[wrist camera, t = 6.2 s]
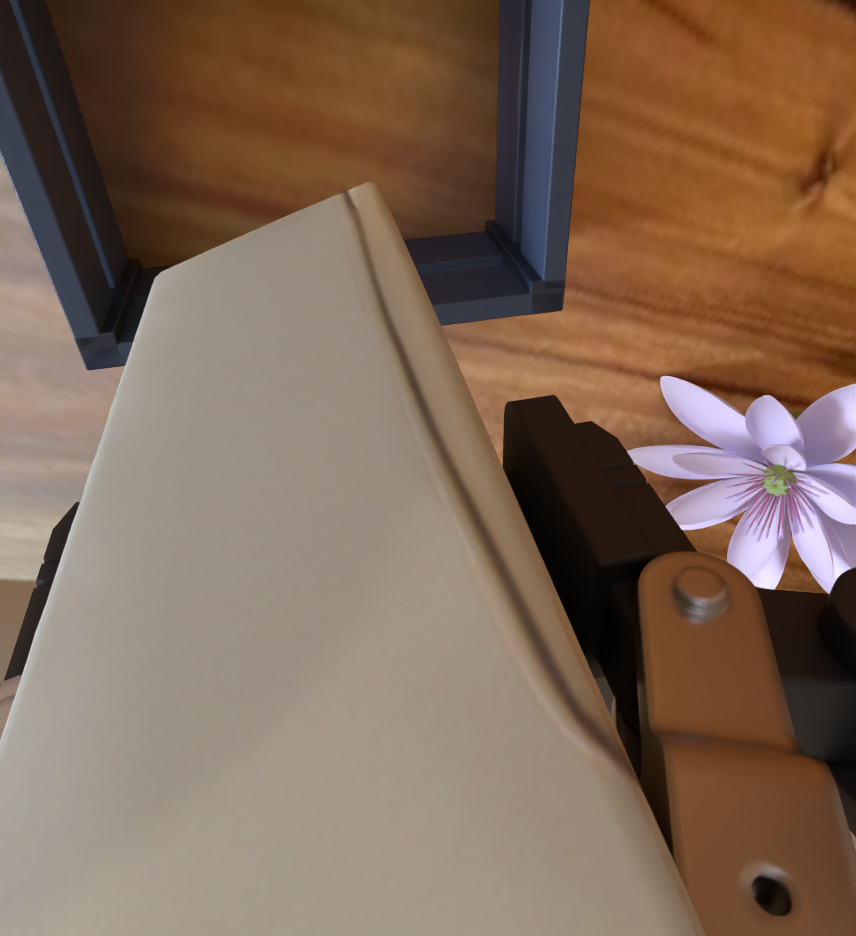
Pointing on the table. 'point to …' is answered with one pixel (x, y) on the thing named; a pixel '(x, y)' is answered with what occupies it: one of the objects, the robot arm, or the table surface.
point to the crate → (436, 259)
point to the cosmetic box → (312, 640)
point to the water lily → (766, 478)
